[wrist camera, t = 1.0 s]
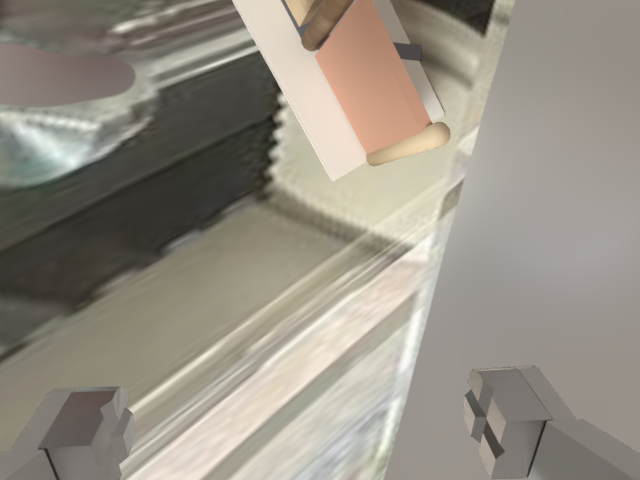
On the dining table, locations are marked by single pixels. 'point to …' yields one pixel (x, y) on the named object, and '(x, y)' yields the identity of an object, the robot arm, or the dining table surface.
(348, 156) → the card
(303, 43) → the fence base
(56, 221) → the dining table surface
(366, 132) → the swing panel
